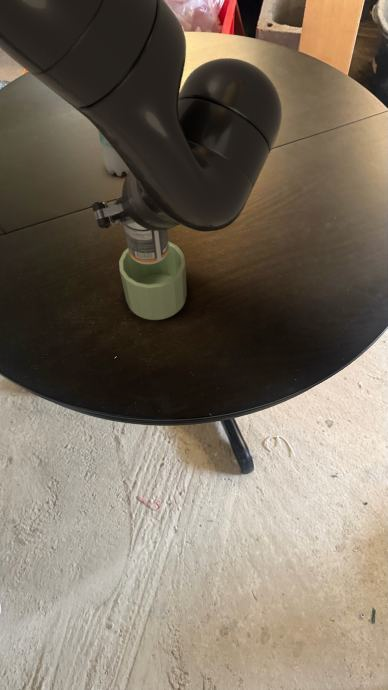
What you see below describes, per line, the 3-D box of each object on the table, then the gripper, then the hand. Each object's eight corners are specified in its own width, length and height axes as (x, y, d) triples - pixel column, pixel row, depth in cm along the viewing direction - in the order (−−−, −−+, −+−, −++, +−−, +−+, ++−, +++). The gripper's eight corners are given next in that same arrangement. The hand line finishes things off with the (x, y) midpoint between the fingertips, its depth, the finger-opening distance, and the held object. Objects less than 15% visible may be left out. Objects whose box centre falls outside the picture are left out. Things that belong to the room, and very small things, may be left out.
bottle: (136, 179, 94) (121, 76, 77) (102, 179, 94) (80, 77, 77) (138, 158, 98) (125, 55, 81) (106, 158, 98) (86, 56, 81)
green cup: (128, 323, 75) (121, 290, 68) (124, 277, 80) (117, 242, 73) (190, 316, 75) (188, 283, 69) (182, 270, 81) (180, 235, 74)
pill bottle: (150, 232, 70) (143, 174, 62) (177, 251, 68) (173, 194, 59) (120, 251, 68) (109, 195, 59) (147, 273, 65) (138, 216, 57)
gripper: (219, 132, 48) (181, 167, 64) (82, 169, 45) (77, 196, 61) (239, 206, 50) (197, 222, 66) (108, 246, 47) (97, 252, 63)
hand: (139, 209), depth 63 cm, fingers closed on pill bottle, 5 cm apart
